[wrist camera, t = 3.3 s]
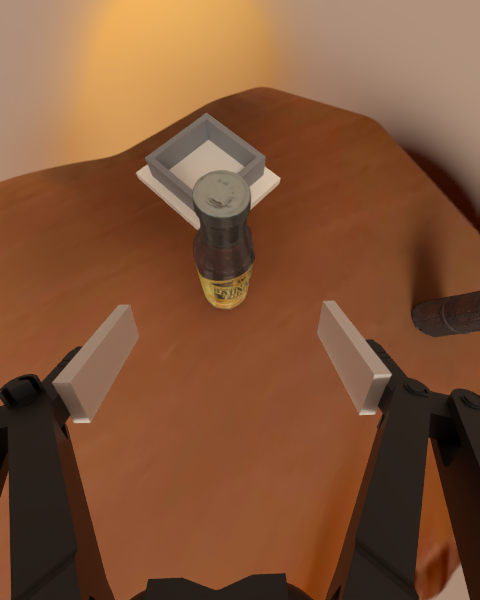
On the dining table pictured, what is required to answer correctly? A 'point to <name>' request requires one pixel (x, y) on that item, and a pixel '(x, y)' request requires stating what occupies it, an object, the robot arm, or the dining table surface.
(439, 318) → the butter churn
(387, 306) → the dining table surface
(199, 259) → the sauce bottle
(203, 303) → the dining table surface
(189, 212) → the bottle stand
